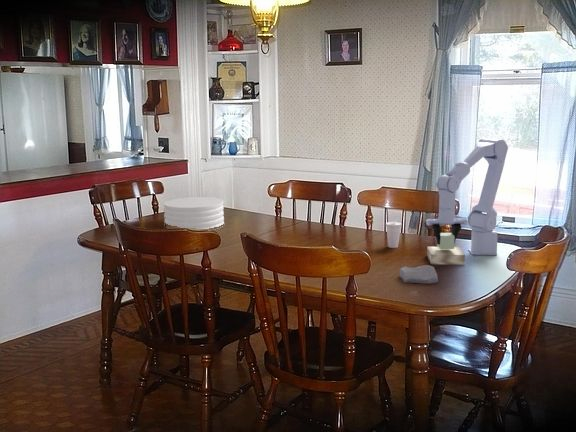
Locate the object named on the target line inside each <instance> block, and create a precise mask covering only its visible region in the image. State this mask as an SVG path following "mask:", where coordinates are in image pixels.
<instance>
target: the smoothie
mask: <svg viewBox="0 0 576 432" xmlns="http://www.w3.org/2000/svg"><path fill="white" fill-rule="evenodd" d="M385 227H386V234H387V236H386V237H387V244H388V248H390V249H397V248H398V247H399V241H400V235H401V227H402V223H401V222H399V221H398V222H397V221H396V213H395V212H393V221H388V222H386V223H385Z"/></svg>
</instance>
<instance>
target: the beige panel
mask: <svg viewBox="0 0 576 432" xmlns="http://www.w3.org/2000/svg"><path fill="white" fill-rule="evenodd" d="M465 256H466V255H465V252H463V250H462V248H461V247H460V246H454V249H440V248H439V247H438V246H427V250H426V257H427V258H428V261H429V264H431V265H460V266H461V265H465V260H466V259H465V258H466V257H465Z"/></svg>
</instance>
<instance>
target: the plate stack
mask: <svg viewBox="0 0 576 432" xmlns="http://www.w3.org/2000/svg"><path fill="white" fill-rule="evenodd" d="M163 212H164V214H163V217H164V224H165V223H166V224H168V225H171V226H177V227H180V228H196V229H209V228H214V227H219V226H221V225H223V224H224V225H225V217H224V215H225V213H224V200H223V199H222V198H219V197H211V196H189V197H188V196H187V197H179V198H172V199H169V200H165V201H164V202H163Z"/></svg>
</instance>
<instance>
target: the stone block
mask: <svg viewBox="0 0 576 432" xmlns="http://www.w3.org/2000/svg"><path fill="white" fill-rule="evenodd" d="M399 277H400V279H402V280H403V282H404V283H411V284H415V283H416V284H428V285H429V284H430V285H431V284H435V283H436V284H437V283H438V282H439V278H438V273H437V271H436V269H435V267H434V266H431V265H429V264H428V265H427V264H425V265H419V266H415V267H407V266H402V267H401V268H400V269H399Z"/></svg>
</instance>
